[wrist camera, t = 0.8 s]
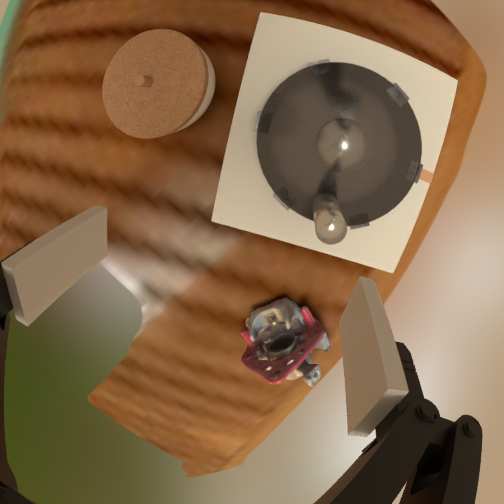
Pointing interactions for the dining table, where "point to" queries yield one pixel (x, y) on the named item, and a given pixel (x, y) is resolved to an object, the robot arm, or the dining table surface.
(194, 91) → the lidded jar
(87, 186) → the dining table surface
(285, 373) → the grey maroon spiky lump
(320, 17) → the dining table surface
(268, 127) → the notched disc with hub
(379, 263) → the base board
